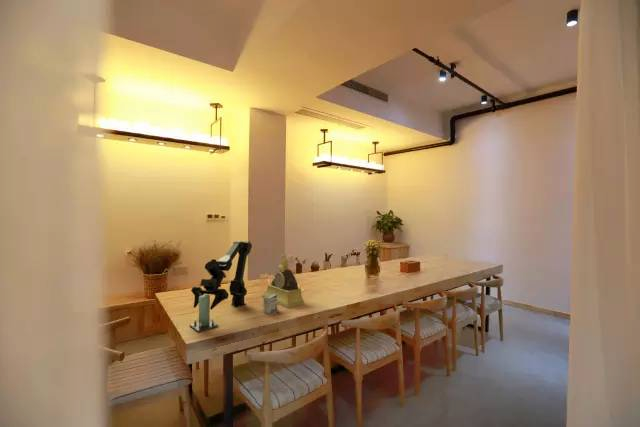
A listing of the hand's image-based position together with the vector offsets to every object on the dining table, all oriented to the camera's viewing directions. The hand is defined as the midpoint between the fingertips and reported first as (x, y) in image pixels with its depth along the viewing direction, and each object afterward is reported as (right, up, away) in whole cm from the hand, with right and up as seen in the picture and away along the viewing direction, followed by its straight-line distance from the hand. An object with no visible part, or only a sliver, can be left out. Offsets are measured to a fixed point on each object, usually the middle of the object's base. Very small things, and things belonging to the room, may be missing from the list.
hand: (202, 308), depth 137 cm
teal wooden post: (0, -9, +1) cm, 9 cm away
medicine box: (+29, -10, +25) cm, 39 cm away
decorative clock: (+33, -10, +44) cm, 56 cm away
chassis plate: (0, -10, +1) cm, 10 cm away
